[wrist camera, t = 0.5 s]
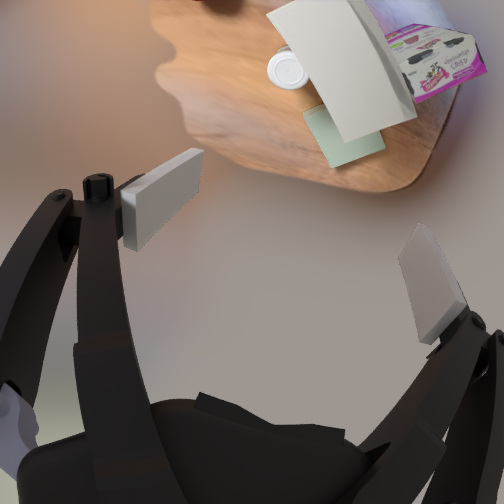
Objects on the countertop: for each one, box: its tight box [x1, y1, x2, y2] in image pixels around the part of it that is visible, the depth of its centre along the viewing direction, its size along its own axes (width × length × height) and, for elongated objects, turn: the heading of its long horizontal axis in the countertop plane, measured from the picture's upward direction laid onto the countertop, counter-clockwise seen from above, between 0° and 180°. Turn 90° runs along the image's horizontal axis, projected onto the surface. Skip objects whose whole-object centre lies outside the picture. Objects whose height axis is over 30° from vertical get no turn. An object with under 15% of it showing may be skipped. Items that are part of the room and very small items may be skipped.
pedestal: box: [303, 103, 386, 168], centre depth 38 cm, size 10×10×3 cm
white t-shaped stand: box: [266, 0, 417, 143], centre depth 22 cm, size 12×7×22 cm, turn 34°
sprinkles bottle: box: [267, 44, 309, 90], centre depth 28 cm, size 5×5×13 cm
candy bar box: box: [385, 24, 487, 104], centre depth 21 cm, size 11×5×16 cm, turn 131°
